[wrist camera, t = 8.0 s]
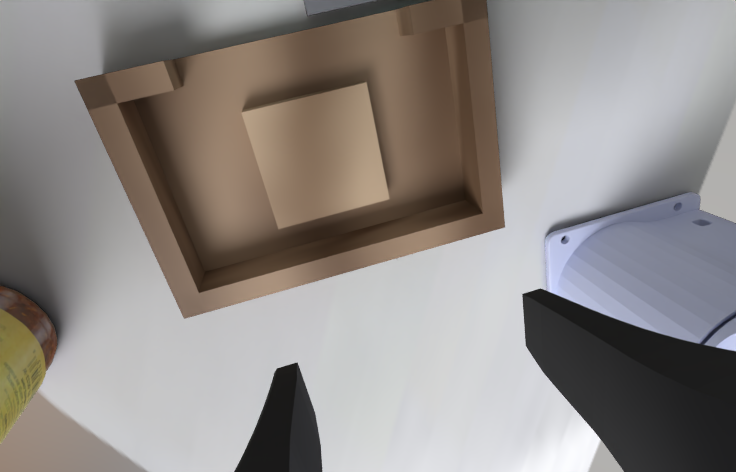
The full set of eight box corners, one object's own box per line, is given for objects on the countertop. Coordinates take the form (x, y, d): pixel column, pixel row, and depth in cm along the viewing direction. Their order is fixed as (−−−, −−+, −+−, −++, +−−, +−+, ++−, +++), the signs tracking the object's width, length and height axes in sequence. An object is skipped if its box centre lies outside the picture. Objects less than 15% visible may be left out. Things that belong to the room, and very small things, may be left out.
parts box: (457, -4, 19) (485, -12, 17) (479, 207, 23) (504, 227, 21) (102, 76, 18) (74, 80, 15) (193, 287, 22) (184, 318, 19)
